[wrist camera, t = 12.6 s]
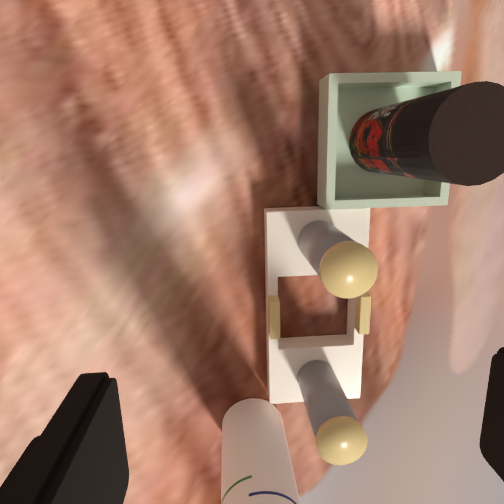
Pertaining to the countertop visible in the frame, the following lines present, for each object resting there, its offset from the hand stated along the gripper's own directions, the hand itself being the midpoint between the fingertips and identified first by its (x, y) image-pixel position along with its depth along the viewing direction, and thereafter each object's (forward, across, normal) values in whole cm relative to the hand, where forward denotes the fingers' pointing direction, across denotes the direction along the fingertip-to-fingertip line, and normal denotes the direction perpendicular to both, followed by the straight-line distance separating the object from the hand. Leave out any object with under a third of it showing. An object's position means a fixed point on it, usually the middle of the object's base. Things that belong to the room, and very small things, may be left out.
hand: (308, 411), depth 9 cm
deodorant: (+30, -13, -7) cm, 33 cm away
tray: (+30, -13, -6) cm, 34 cm away
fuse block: (+30, -7, +10) cm, 33 cm away
